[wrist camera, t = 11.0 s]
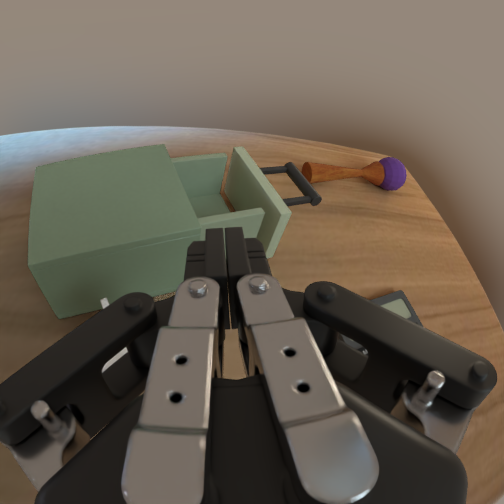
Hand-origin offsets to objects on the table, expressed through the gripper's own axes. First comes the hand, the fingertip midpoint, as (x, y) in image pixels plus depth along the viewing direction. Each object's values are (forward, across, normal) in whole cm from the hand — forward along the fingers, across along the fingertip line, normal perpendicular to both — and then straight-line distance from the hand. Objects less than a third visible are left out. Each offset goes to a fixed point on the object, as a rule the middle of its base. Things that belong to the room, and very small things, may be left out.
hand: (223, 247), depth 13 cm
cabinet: (+17, +12, +9) cm, 22 cm away
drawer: (+21, 0, +9) cm, 23 cm away
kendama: (+35, -22, +9) cm, 43 cm away
